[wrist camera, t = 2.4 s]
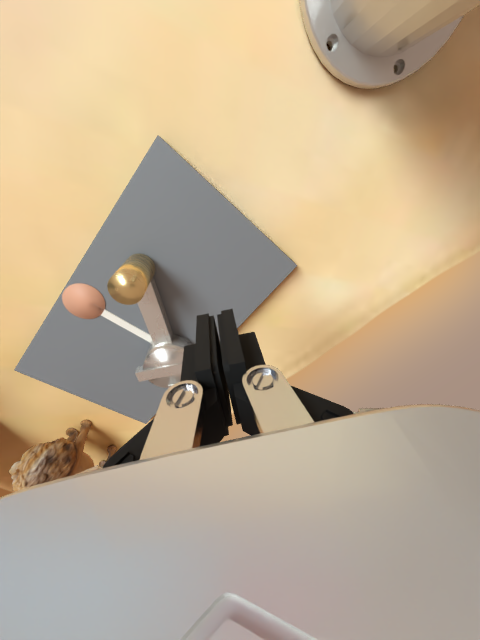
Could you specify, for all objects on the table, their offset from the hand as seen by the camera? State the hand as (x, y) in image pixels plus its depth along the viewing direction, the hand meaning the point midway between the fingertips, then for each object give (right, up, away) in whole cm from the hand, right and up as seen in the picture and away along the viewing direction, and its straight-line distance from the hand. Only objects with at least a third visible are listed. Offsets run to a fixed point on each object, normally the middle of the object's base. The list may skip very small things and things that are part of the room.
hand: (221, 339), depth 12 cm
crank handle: (-7, 0, +15) cm, 17 cm away
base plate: (-9, +2, +16) cm, 18 cm away
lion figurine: (-21, -16, +24) cm, 36 cm away
